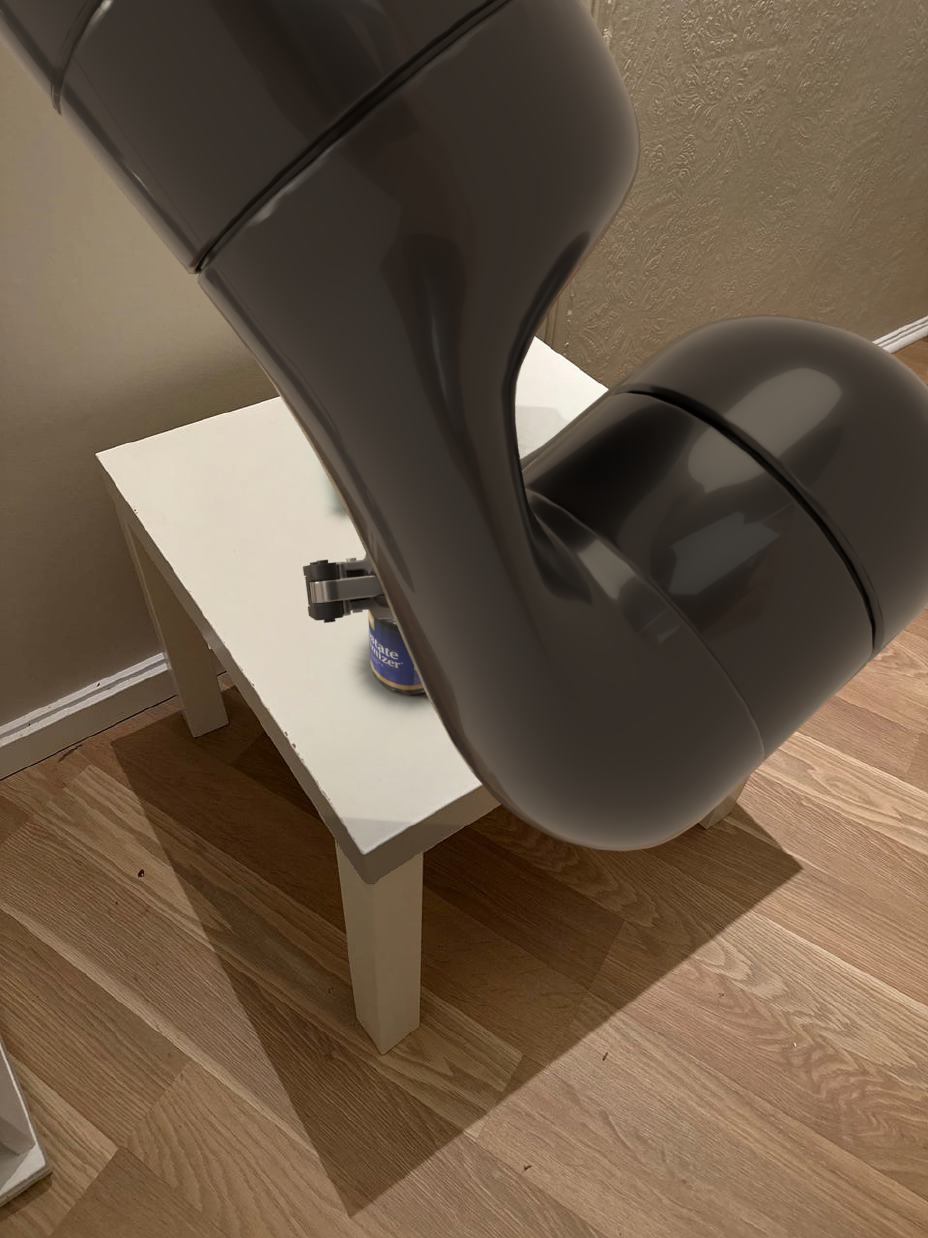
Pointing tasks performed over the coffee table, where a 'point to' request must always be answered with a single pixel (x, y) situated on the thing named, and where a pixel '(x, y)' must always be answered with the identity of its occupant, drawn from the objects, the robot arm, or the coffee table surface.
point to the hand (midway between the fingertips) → (435, 574)
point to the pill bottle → (391, 657)
